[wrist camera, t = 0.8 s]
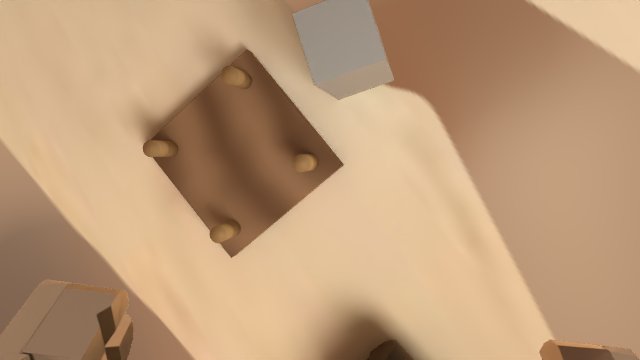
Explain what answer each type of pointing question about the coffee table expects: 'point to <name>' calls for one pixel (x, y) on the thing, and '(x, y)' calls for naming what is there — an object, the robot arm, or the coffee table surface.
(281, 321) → the coffee table surface
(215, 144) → the stand
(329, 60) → the slate block
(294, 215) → the coffee table surface
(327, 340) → the coffee table surface
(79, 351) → the robot arm
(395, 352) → the end cap
